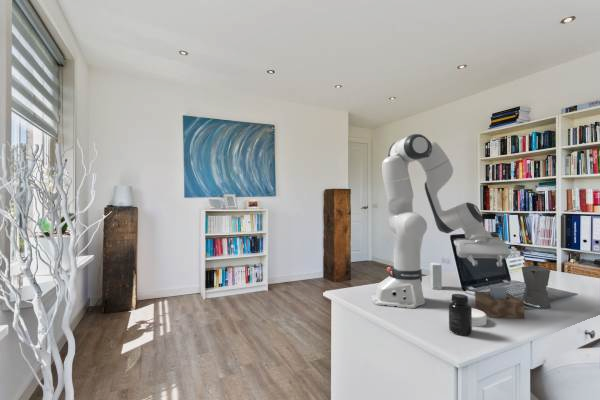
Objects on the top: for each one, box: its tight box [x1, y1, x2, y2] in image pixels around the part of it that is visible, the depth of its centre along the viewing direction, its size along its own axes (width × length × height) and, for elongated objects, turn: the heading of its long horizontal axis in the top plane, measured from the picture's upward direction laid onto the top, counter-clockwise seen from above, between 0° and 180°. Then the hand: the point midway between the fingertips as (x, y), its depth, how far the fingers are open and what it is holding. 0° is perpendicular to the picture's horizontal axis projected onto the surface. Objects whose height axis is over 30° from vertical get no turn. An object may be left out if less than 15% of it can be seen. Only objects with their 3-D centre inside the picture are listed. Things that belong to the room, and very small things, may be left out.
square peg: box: [489, 284, 507, 299], centre depth 118 cm, size 4×4×9 cm
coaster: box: [471, 307, 488, 327], centre depth 110 cm, size 10×10×4 cm
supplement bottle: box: [448, 293, 473, 336], centre depth 101 cm, size 7×7×12 cm
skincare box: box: [429, 262, 443, 290], centre depth 152 cm, size 6×4×12 cm
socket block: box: [474, 291, 526, 319], centre depth 118 cm, size 12×12×6 cm
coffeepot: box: [521, 260, 552, 310], centre depth 126 cm, size 15×9×18 cm, turn 136°
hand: (487, 265), depth 126 cm, fingers open, 8 cm apart
